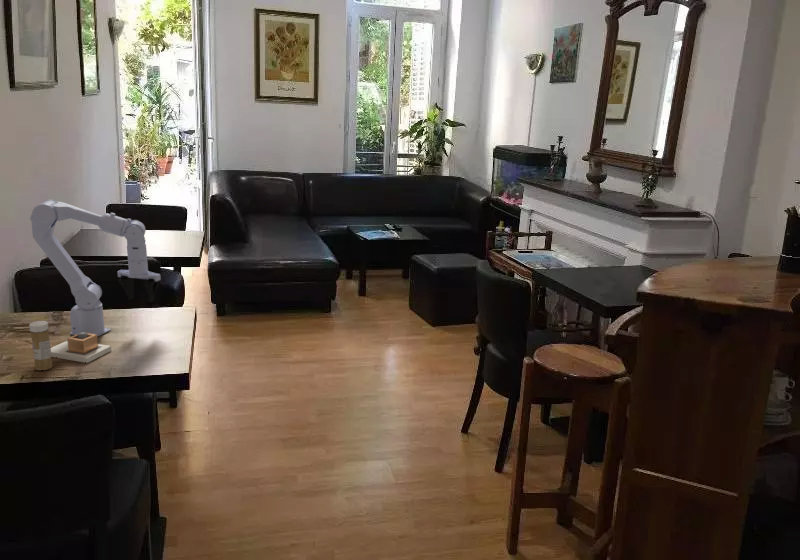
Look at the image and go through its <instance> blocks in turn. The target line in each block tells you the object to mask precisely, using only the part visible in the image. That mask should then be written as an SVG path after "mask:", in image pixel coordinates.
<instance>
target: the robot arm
mask: <svg viewBox="0 0 800 560" xmlns="http://www.w3.org/2000/svg"><path fill="white" fill-rule="evenodd" d="M29 219H30V221H31V230H32V231H31V232H32V238H33V239H34V241H35V242H36V243H37V245H38V246H39V247H40V248H41V250H42V251H43V252H44V254H45V255H46V256H47V258H48V259H49V260H50V262H51V263H52V264H53V266H54V267H55V268H56V269H57V271H58V272H59V273H60V275H61V276H62V277H63V278H64V279H65V281H66V282H67V284H68V286H69V287H70V292H71V294H72V296H73V297H74V301H75V304H76V305H74V306H73V307H72V308H71V309H70V312H69V318H70V327H71V332H69V335H70V336H74V335H76V334H78V333H80V332H86V333H90V334H96V335H97V338H98V337H99V336H100V337H101V335H103V334H106V333H108V332H110V331H112V329H111V328H108V327H105V318H104V309H103V308H104V307H103V303H102V302H101V300H100V298H101V297H102V295H103V290H102V288H101V286H100V285H98V284H96V282H93V280H92V279H91V278H90V277H88V276H86V275H85V274H84V273H83V271H82V270H81V268H79V266H78V264H77V263H76V262H75V261H74V259H73V258H72V257H71V255H70V254H69V253H68V251H66V249H65V247H64V246H63V245H62V243H61V242H60V241H59V239H57V237H56V236H55V235H54V230H55V226H56V224H57V221H58V222H61V221H65V220H66V221H67V220H68V219H71V220H75V221H80V222H83V223H88V224H90V225H91V224H92V225H95V226H98V228H99V229H100V231H101V232H104V233H108V234H112V235H114V236H118V237H121V238H122V237H124V238H125V239H126V253H127V263H128V269H120V270H118V271H116V272H117V277H118V278H119V279H118V283H119V284H120V286H122V289H123V290H124V292H125V295H126V298H127V300H133V299H134V297H135V290H134V289H135V287H134V286H135V285H134V283H135V279H140V280H146V281H144V282H143V285H144V287H145V290H146V294H147V295H146V296H147V302H148V303H152V302H154V301H155V297H156V293H157V289H158V286H159V285H160V282H161V280H162V279H161V278H162V277H161V274H160V273H156V272H152V271H149V264H148V253H147V252H148V251H147V244H146V238H145V237H146V236H145V234H146V226H145V224H144V223H143V222H141V221H140V220H138V219H132V218H123V217H121V216H118V215H116V213H114V212H110V213H108V212H106V213H104V214H102V215H100V214H99V213H98V214H97V213H95V212H92V211H89V210H86V209H83V208H80V207H77V206H76V205H75V206H74V205H72V204H68V203H66V202H63V201H56V200H54V199H45V200H44V201H42V202H41V203H40V204H38V205H35V207H34V208H33V209H32V212H31V215H30V217H29Z"/></svg>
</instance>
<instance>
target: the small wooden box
mask: <svg viewBox="0 0 800 560" xmlns="http://www.w3.org/2000/svg"><path fill="white" fill-rule="evenodd" d="M66 339H67V340H66V341H68V350H69V351H71V352H77V353H82V354H85V353H87V352H89V351H91V350H93V349H95V348H97V347H98V344H99V343H98V337H97V335H96V334H90V333H87V338H85V339H78V334H76V335H70V337H67V338H66Z"/></svg>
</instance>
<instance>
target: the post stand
mask: <svg viewBox="0 0 800 560" xmlns="http://www.w3.org/2000/svg"><path fill="white" fill-rule="evenodd" d="M85 338H87V333H86V332H80V333H78V339H85ZM50 348H51V358H56V357H57V359H62V360H69V361H74V362H78V363H85V362H86V364H89V363H90V362H92V361H94V360H96V359H98V358H100V357H102V356H104V355H106V354H108V353H110V352H111V351H112V346H111V345H107V344H101V343H98V347H97V348H95V349H93V350H91V351H89V352H87V353H85V354H82V353H77V352H71V351H69V350H68V341H67V340H66V341H63V342H61V343H59V344H57V345H54V346H52V347H50Z"/></svg>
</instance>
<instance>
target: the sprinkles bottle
mask: <svg viewBox="0 0 800 560" xmlns="http://www.w3.org/2000/svg"><path fill="white" fill-rule="evenodd" d="M28 326H29V331H30V334H31V345H32V354H33V359H34V360H33V361H34V369H35V370H37V371H41V370H43V371H47V370H50V369H51V368H53V366H54V365H53V360H52V357H51V348H52V347H51V341H50V336H49V335H50V334H49V322H48V321H46V320H37V321H32V322H31V323H29V324H28Z"/></svg>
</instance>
